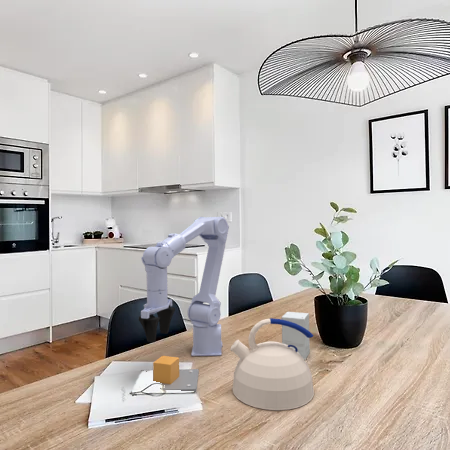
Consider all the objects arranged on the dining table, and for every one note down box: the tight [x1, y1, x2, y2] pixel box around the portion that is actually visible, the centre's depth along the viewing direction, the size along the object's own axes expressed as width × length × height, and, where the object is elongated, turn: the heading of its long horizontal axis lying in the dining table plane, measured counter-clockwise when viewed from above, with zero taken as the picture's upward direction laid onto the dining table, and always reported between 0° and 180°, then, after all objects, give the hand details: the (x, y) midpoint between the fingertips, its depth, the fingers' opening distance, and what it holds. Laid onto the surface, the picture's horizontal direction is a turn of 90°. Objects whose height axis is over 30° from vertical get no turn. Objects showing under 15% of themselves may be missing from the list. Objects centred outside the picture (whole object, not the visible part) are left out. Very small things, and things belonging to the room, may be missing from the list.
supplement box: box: [280, 311, 311, 361], centre depth 114 cm, size 7×7×13 cm
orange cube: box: [152, 355, 180, 384], centre depth 95 cm, size 5×5×5 cm
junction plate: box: [140, 368, 200, 393], centre depth 95 cm, size 16×12×4 cm
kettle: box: [230, 317, 315, 411], centre depth 91 cm, size 20×21×18 cm
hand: (158, 337), depth 102 cm, fingers open, 7 cm apart
